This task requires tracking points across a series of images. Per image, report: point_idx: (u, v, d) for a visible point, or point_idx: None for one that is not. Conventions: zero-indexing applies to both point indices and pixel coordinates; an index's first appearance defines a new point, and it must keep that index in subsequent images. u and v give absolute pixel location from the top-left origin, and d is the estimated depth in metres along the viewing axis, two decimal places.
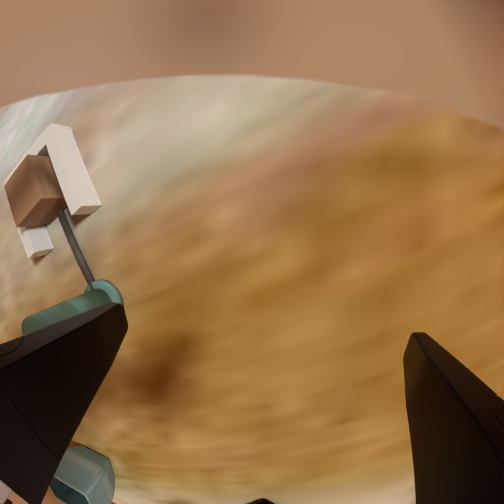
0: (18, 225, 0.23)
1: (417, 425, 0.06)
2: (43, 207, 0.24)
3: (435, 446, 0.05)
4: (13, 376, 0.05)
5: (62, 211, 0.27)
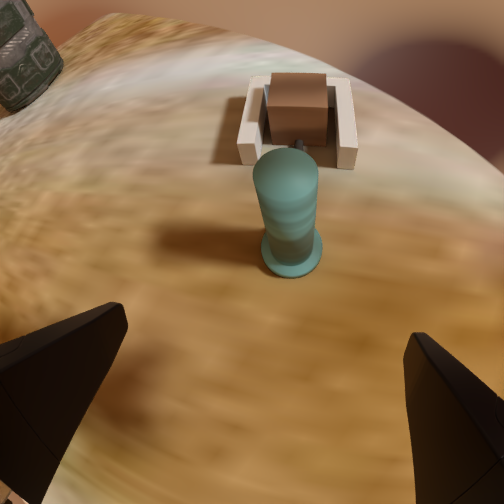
0: (271, 105, 0.23)
1: (417, 425, 0.06)
2: (308, 119, 0.24)
3: (435, 446, 0.05)
4: (13, 376, 0.05)
5: (302, 144, 0.27)
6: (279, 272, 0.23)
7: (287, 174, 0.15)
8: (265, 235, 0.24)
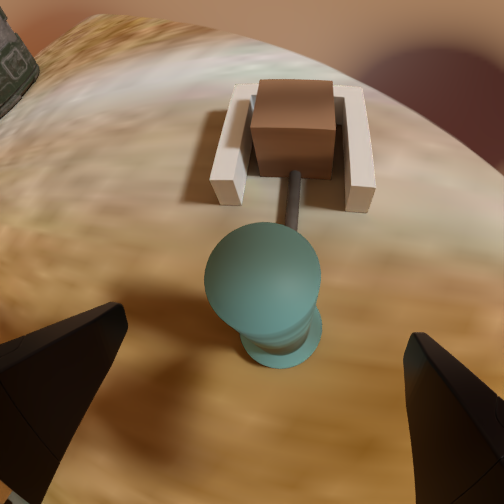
0: (256, 127, 0.17)
1: (417, 425, 0.06)
2: (308, 144, 0.18)
3: (435, 446, 0.05)
4: (13, 376, 0.05)
5: (300, 176, 0.21)
6: (262, 363, 0.16)
7: (265, 278, 0.08)
8: None
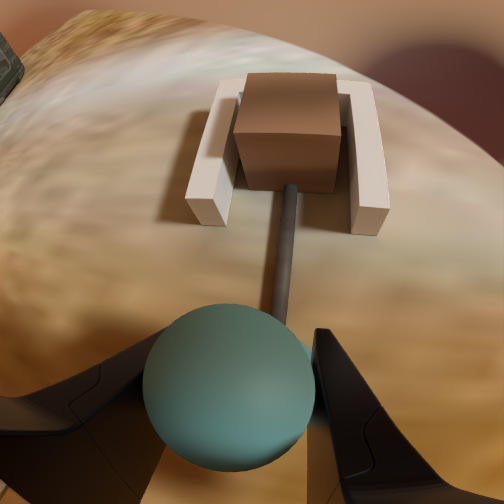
0: (240, 132, 0.14)
1: (309, 425, 0.07)
2: (306, 153, 0.15)
3: (314, 450, 0.05)
4: (99, 418, 0.05)
5: (296, 191, 0.17)
6: None
7: (229, 396, 0.05)
8: None
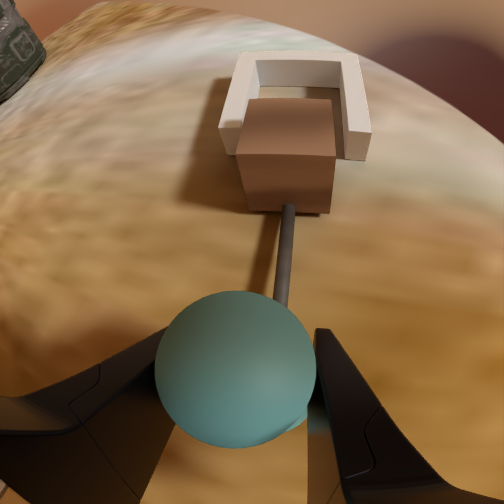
0: (242, 153, 0.15)
1: (310, 425, 0.07)
2: (304, 174, 0.16)
3: (314, 449, 0.05)
4: (99, 418, 0.05)
5: (294, 210, 0.18)
6: None
7: (236, 373, 0.06)
8: None
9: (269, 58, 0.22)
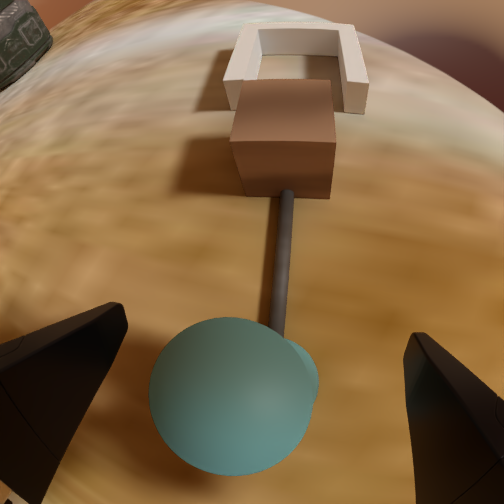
0: (237, 140, 0.14)
1: (417, 425, 0.06)
2: (302, 160, 0.15)
3: (435, 446, 0.05)
4: (13, 376, 0.05)
5: (293, 196, 0.18)
6: None
7: (230, 405, 0.05)
8: None
9: (271, 27, 0.22)
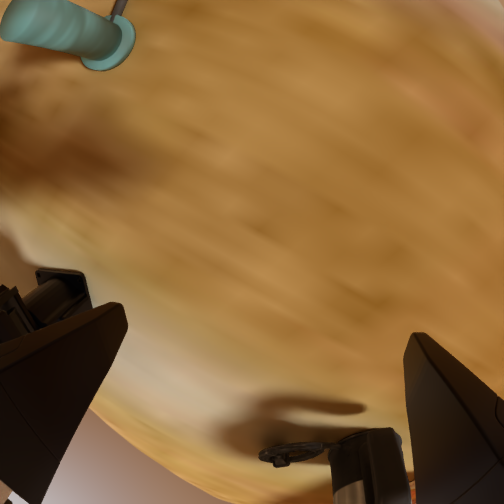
0: None
1: (417, 425, 0.06)
2: None
3: (435, 446, 0.05)
4: (13, 376, 0.05)
5: None
6: (88, 67, 0.17)
7: (18, 14, 0.08)
8: None
9: None
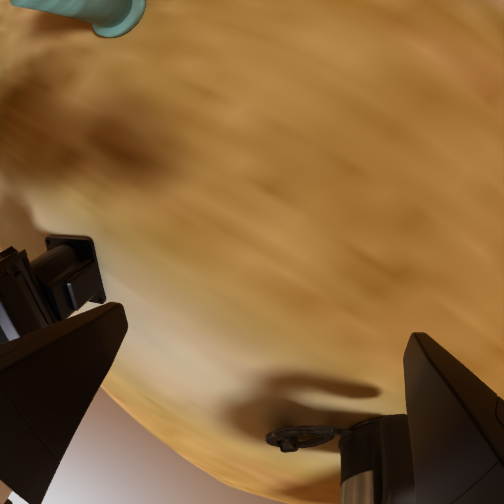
0: None
1: (417, 425, 0.06)
2: None
3: (435, 446, 0.05)
4: (13, 376, 0.05)
5: None
6: (99, 34, 0.17)
7: None
8: None
9: None
